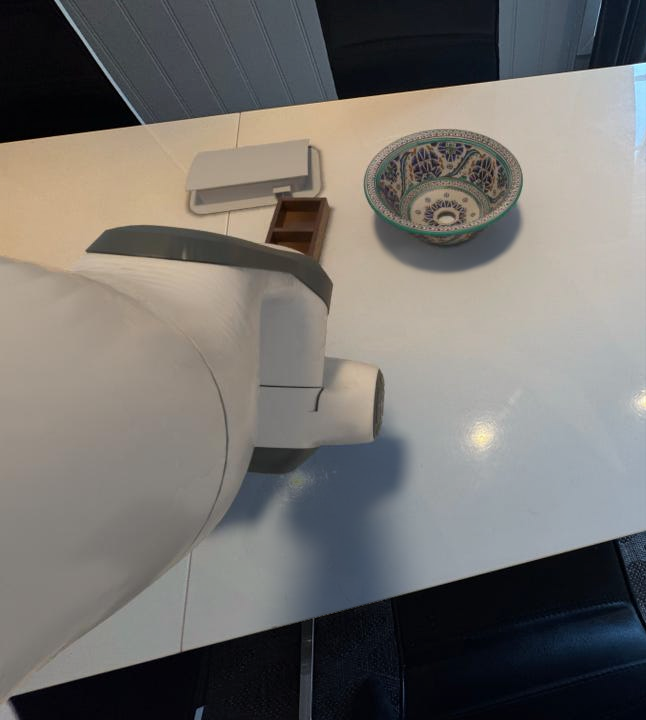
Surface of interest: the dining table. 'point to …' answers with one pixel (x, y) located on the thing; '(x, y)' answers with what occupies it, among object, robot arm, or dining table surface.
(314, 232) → the rack
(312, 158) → the grey hinged lid tray
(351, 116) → the dining table surface
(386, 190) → the bowl
